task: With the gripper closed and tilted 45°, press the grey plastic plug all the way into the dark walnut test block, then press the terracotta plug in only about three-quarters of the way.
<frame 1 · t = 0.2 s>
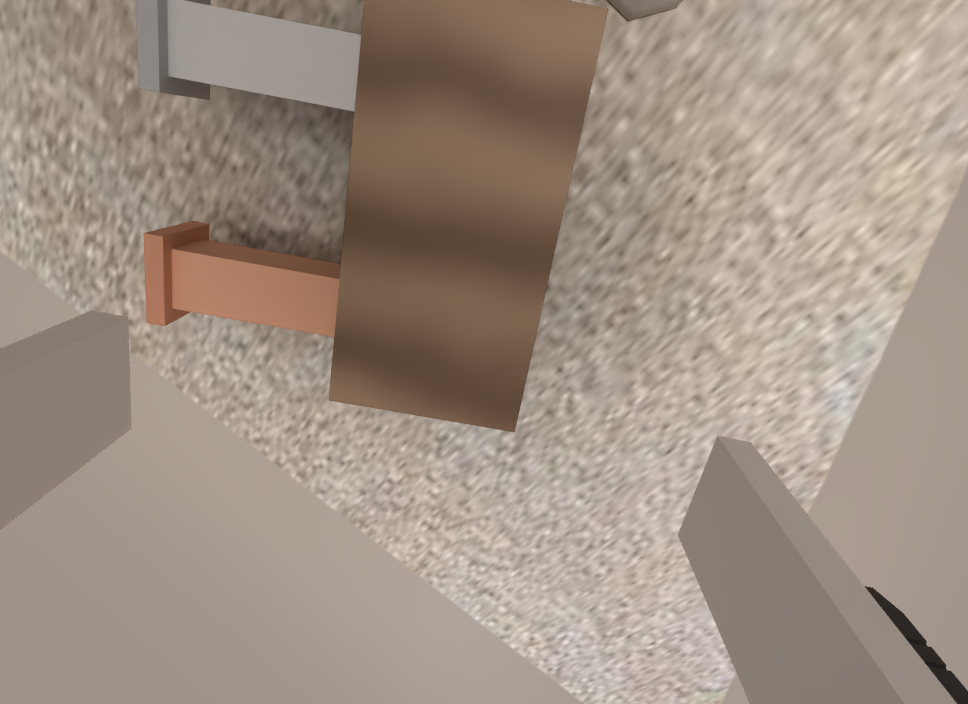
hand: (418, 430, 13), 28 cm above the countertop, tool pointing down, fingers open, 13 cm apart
plug grey: (303, 65, 29), point 7 cm above the countertop, slide at 0.0 cm
test block: (466, 203, 38), on the countertop
plug terracotta: (290, 291, 33), point 7 cm above the countertop, slide at 0.0 cm
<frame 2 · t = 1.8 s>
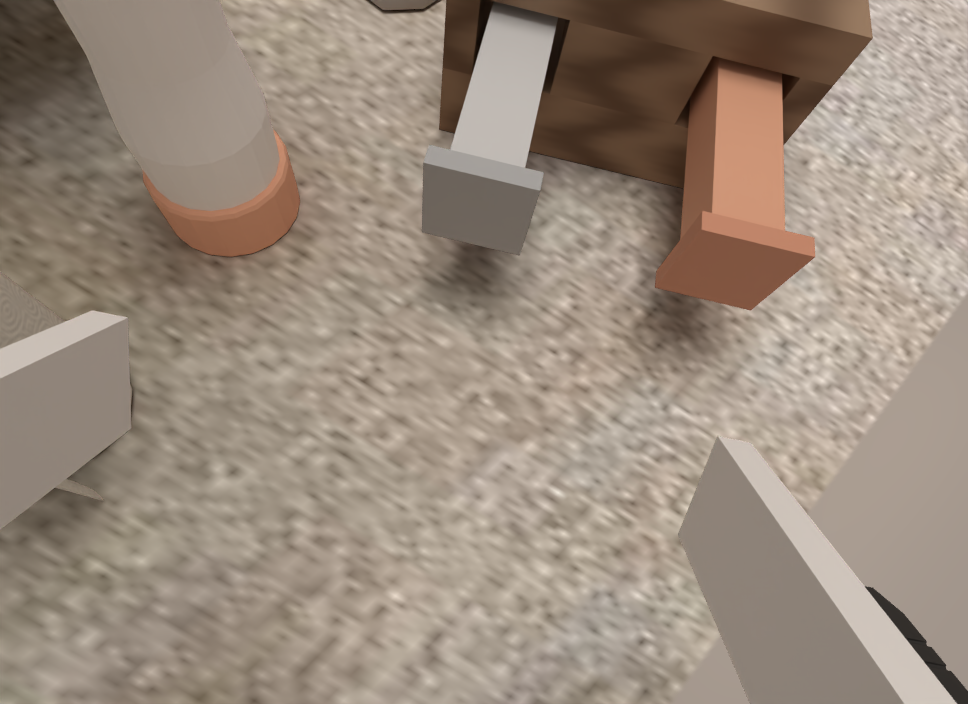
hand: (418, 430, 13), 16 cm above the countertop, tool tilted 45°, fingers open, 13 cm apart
plug grey: (503, 103, 29), point 7 cm above the countertop, slide at 0.0 cm
test block: (597, 110, 39), on the countertop
plug terracotta: (731, 158, 29), point 7 cm above the countertop, slide at 0.0 cm
paper towel roll: (66, 420, 27), on the countertop
salt shaker 2: (236, 205, 33), on the countertop
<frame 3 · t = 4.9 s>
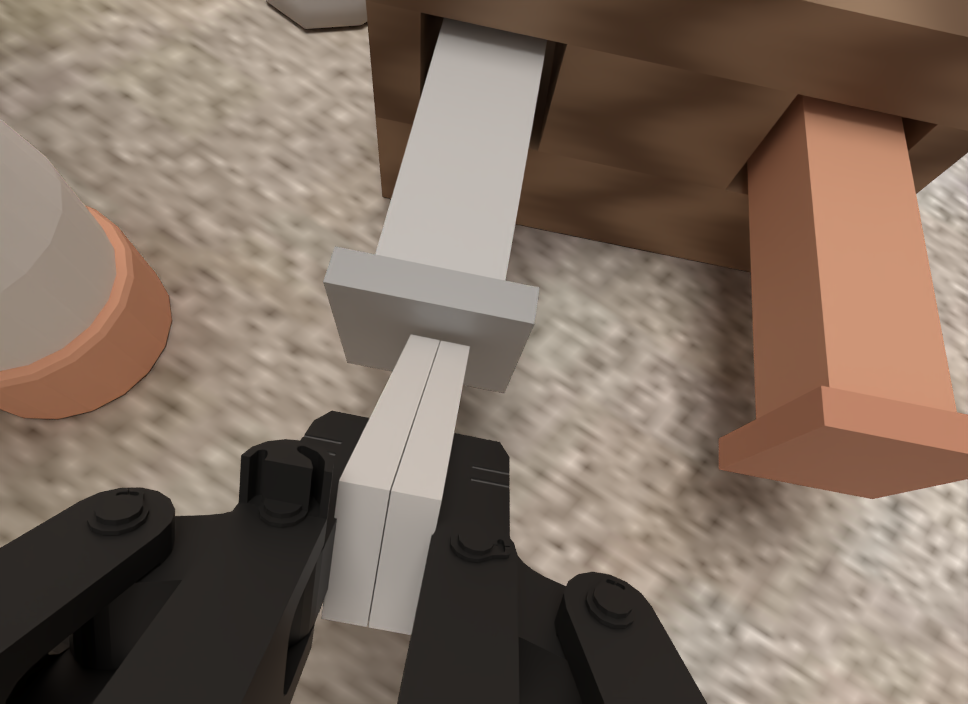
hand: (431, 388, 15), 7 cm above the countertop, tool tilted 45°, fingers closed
plug grey: (471, 152, 18), point 7 cm above the countertop, slide at 1.1 cm, touching gripper
test block: (604, 158, 28), on the countertop
plug terracotta: (830, 254, 18), point 7 cm above the countertop, slide at 0.0 cm
salt shaker 2: (73, 330, 22), on the countertop
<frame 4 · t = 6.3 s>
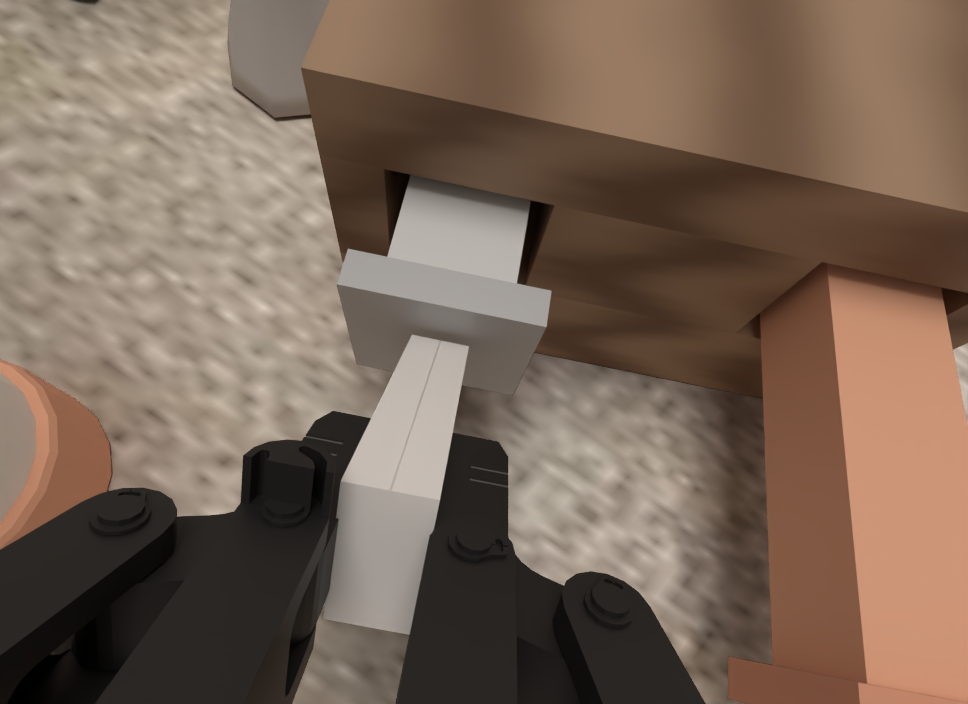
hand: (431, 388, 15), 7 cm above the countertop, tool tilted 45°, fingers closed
flask: (304, 70, 29), on the countertop
plug grey: (481, 155, 18), point 7 cm above the countertop, slide at 7.3 cm, touching gripper
test block: (600, 263, 26), on the countertop
plug terracotta: (857, 442, 16), point 7 cm above the countertop, slide at 0.0 cm
salt shaker 2: (0, 488, 19), on the countertop
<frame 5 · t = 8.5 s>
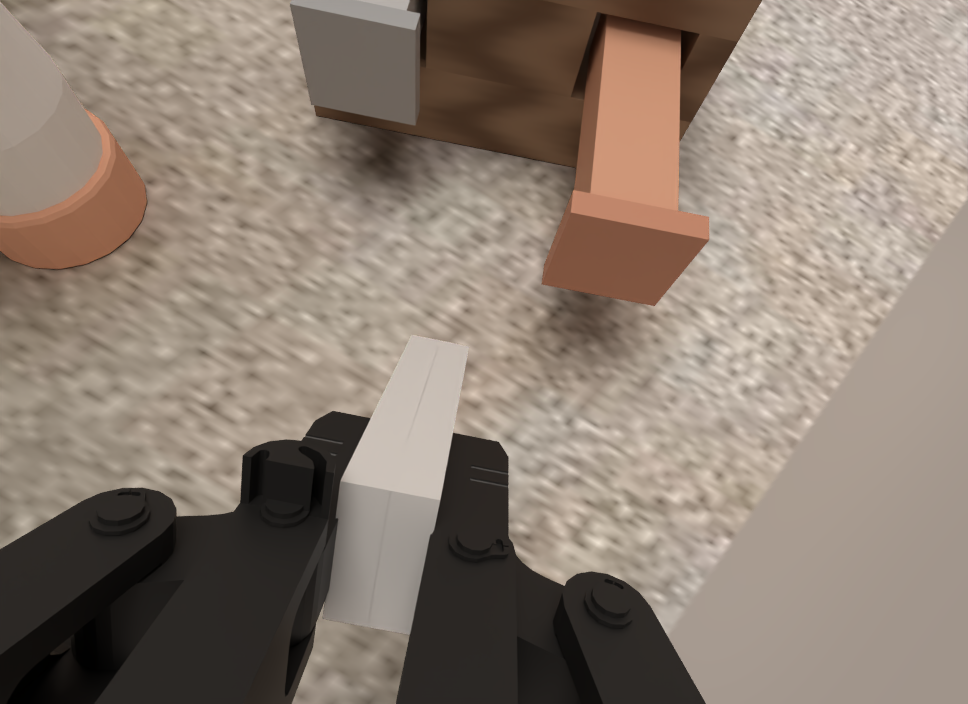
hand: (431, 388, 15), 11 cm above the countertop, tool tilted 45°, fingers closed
test block: (499, 88, 35), on the countertop
plug terracotta: (626, 131, 25), point 7 cm above the countertop, slide at 0.0 cm
salt shaker 2: (71, 209, 28), on the countertop
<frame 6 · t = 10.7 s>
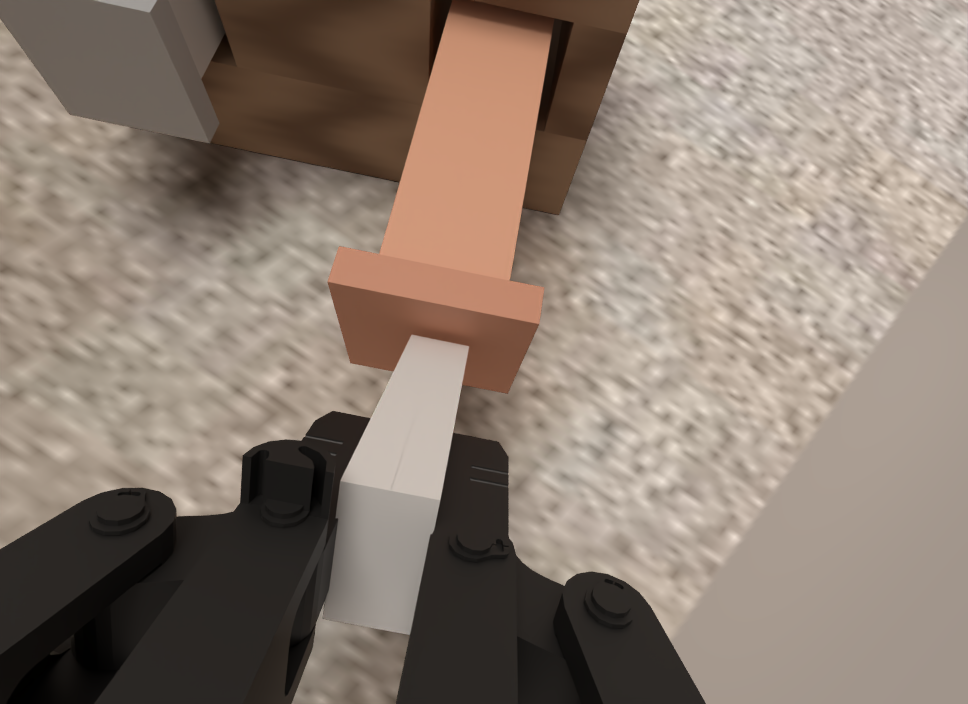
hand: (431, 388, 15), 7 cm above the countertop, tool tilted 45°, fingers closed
test block: (373, 93, 28), on the countertop
plug terracotta: (474, 152, 18), point 7 cm above the countertop, slide at 0.2 cm, touching gripper
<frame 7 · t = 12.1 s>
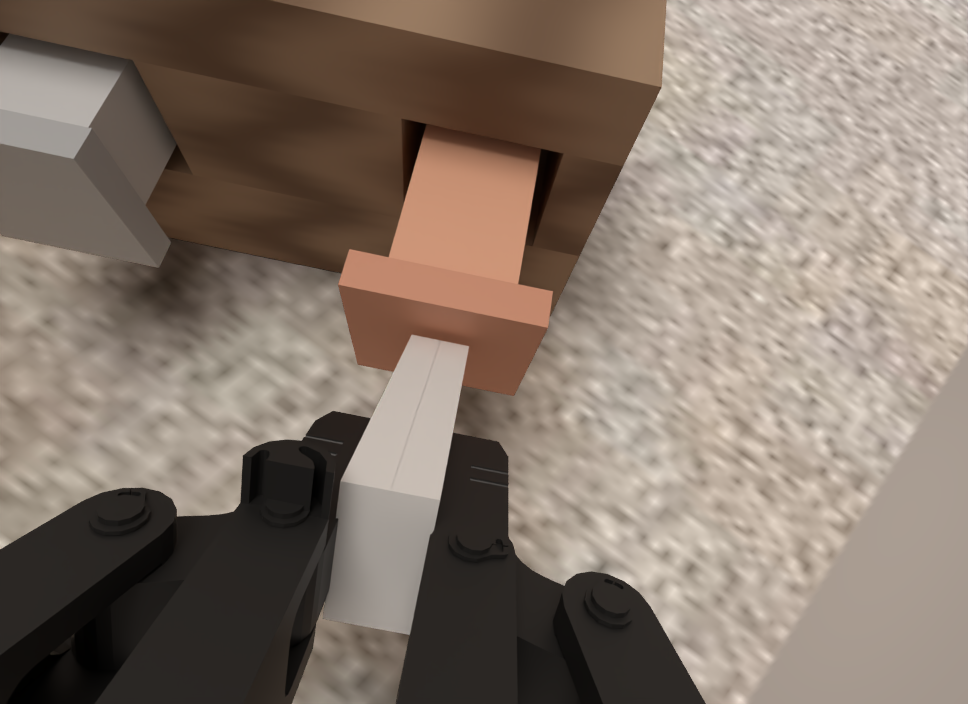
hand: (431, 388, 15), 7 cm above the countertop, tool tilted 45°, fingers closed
plug grey: (137, 35, 19), point 7 cm above the countertop, slide at 7.3 cm
test block: (351, 177, 26), on the countertop
plug terracotta: (482, 155, 18), point 7 cm above the countertop, slide at 5.4 cm, touching gripper
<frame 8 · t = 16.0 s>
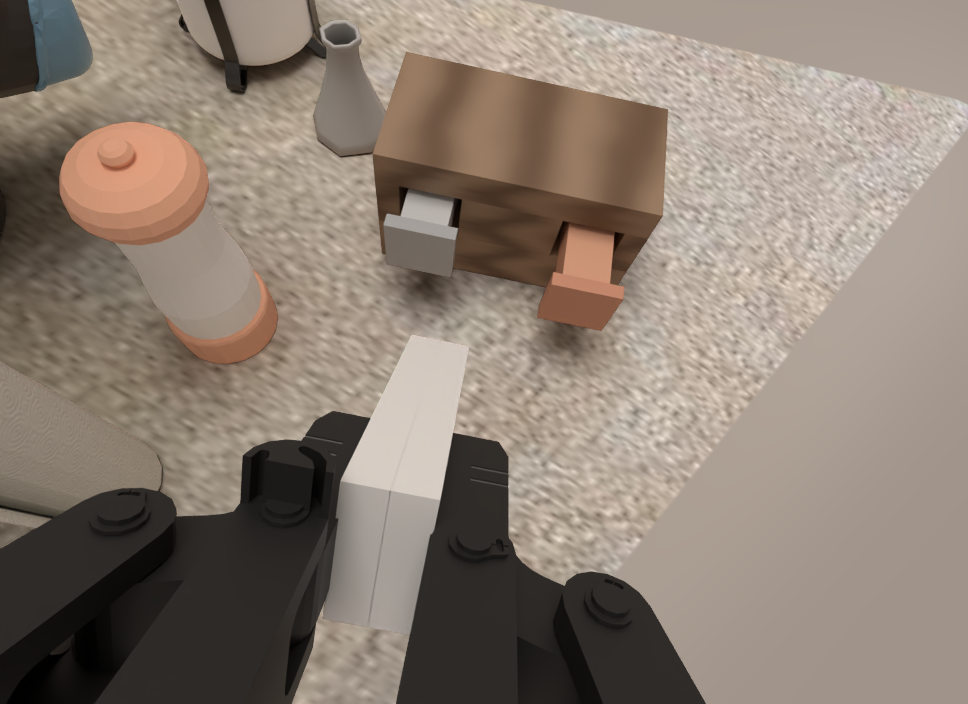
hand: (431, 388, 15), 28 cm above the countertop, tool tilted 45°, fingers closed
flask: (353, 129, 54), on the countertop
plug grey: (438, 178, 44), point 7 cm above the countertop, slide at 7.3 cm
test block: (504, 230, 51), on the countertop
plug terracotta: (587, 229, 43), point 7 cm above the countertop, slide at 5.4 cm
coffee press: (249, 36, 57), on the countertop
paper towel roll: (116, 491, 39), on the countertop
salt shaker 2: (230, 322, 45), on the countertop
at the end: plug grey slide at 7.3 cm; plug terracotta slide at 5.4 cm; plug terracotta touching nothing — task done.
